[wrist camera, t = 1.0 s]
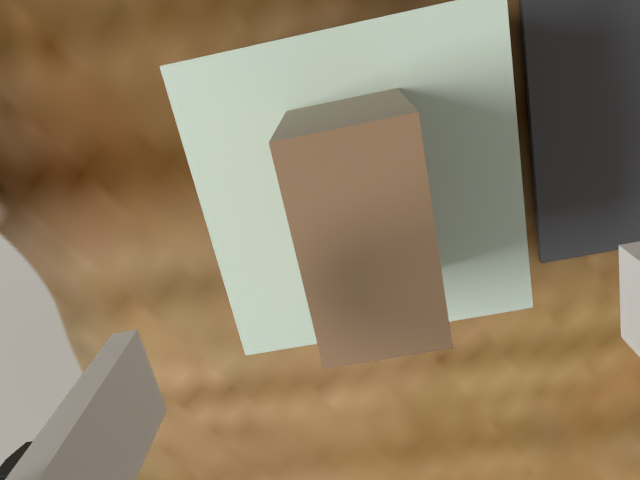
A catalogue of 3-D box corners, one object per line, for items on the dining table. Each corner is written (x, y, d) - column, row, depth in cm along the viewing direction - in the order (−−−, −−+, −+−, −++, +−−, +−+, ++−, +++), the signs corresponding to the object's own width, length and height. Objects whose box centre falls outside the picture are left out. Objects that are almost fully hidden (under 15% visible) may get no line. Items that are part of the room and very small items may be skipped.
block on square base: (175, 62, 27) (96, 82, 18) (489, -8, 26) (572, -24, 17) (252, 329, 32) (220, 448, 23) (517, 284, 31) (591, 392, 22)
